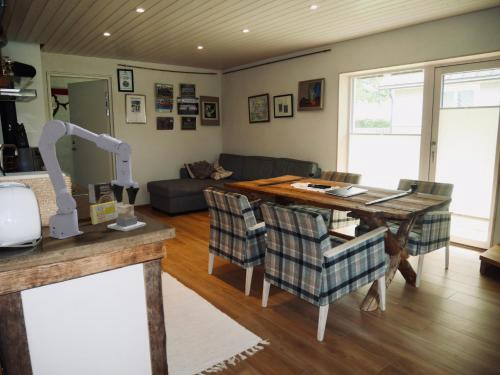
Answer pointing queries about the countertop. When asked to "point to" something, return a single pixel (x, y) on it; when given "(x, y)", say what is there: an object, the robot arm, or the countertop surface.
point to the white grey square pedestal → (126, 224)
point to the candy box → (104, 212)
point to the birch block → (125, 211)
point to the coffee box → (100, 193)
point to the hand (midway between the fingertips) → (125, 203)
